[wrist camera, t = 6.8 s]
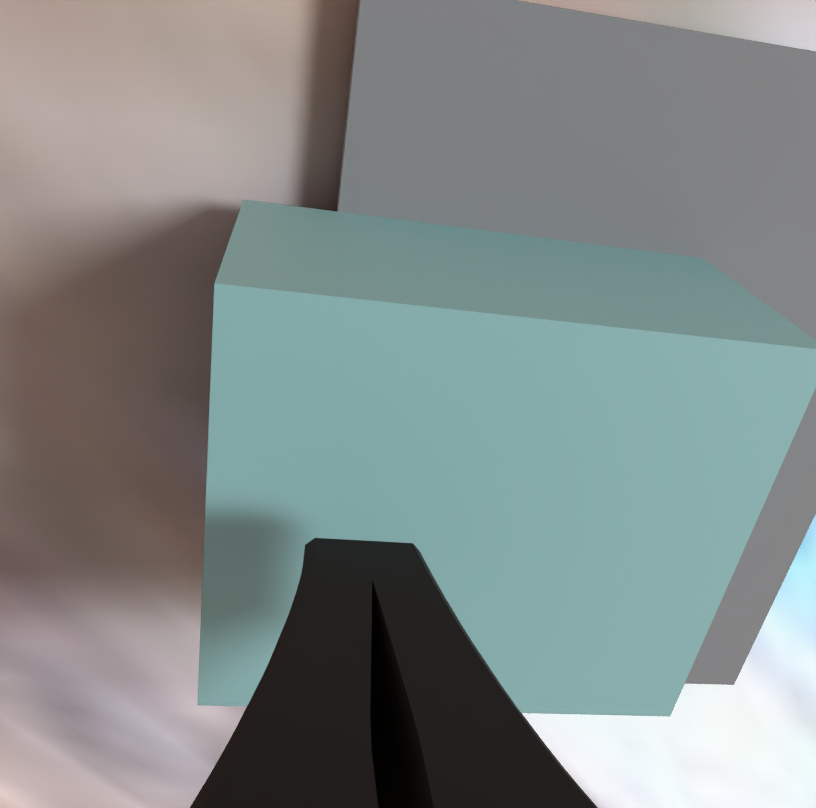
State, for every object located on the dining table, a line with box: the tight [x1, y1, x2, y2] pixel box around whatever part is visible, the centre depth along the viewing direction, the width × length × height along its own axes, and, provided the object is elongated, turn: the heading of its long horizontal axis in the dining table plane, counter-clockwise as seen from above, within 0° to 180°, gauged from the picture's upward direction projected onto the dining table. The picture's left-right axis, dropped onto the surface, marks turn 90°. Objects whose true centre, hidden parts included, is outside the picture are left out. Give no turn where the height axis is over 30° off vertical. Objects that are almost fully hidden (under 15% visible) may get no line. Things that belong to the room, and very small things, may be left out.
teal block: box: [198, 200, 816, 716], centre depth 13 cm, size 4×7×8 cm
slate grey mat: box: [336, 0, 816, 685], centre depth 15 cm, size 11×14×1 cm
